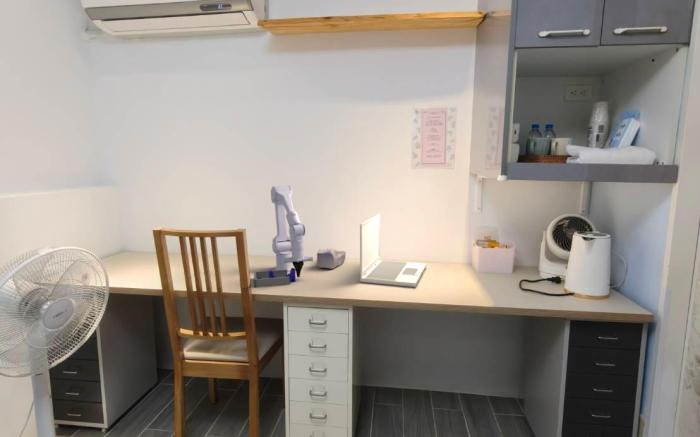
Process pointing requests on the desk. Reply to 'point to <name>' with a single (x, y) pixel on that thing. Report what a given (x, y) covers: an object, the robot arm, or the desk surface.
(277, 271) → the box
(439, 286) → the desk surface
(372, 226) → the laptop
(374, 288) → the desk surface
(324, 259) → the grey rounded block
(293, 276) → the cable clip
